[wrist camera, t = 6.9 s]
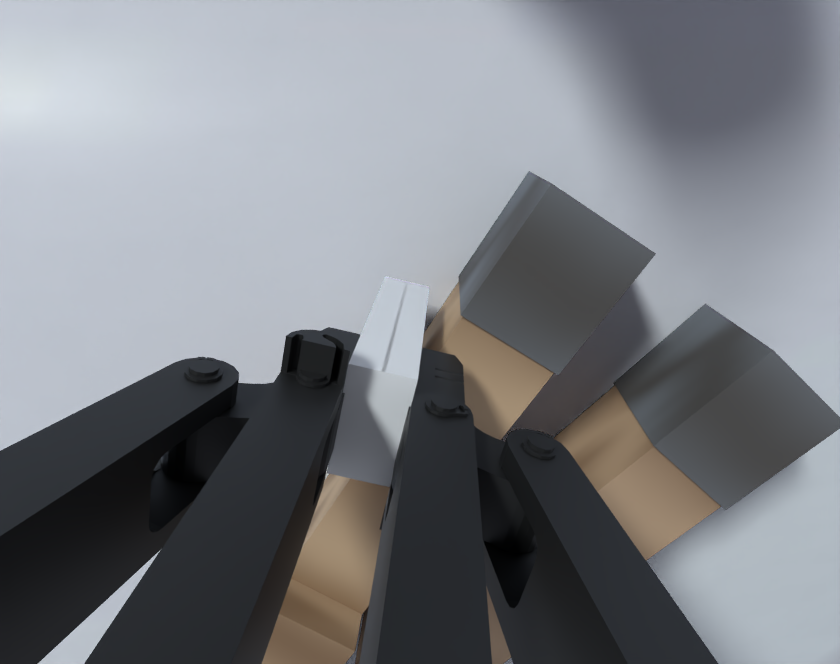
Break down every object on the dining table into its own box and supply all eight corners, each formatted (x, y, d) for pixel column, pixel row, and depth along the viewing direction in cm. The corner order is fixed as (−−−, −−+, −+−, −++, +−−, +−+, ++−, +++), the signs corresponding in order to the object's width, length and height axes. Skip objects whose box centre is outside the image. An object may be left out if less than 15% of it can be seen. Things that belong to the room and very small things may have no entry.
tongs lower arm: (364, 680, 25) (347, 790, 21) (278, 623, 24) (242, 727, 20) (765, 363, 19) (856, 431, 15) (670, 268, 18) (737, 311, 14)
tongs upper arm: (344, 679, 25) (314, 833, 20) (226, 622, 24) (160, 766, 19) (681, 274, 18) (784, 338, 12) (529, 171, 17) (566, 191, 11)
